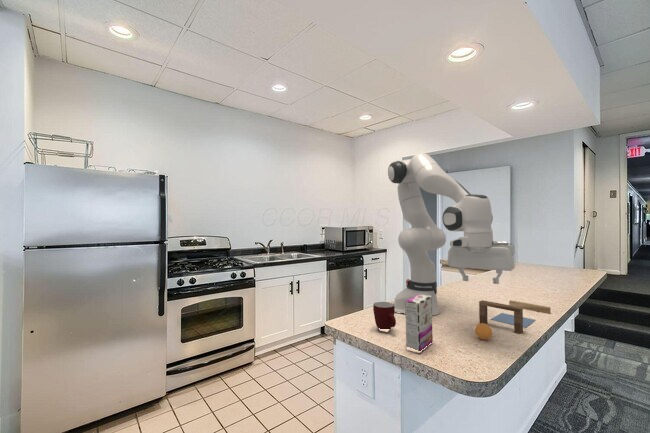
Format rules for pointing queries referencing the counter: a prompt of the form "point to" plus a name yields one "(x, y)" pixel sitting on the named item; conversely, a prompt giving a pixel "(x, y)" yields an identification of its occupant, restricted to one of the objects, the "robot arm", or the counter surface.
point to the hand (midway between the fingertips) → (480, 282)
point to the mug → (384, 315)
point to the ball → (483, 331)
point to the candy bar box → (418, 322)
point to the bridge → (517, 310)
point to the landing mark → (511, 319)
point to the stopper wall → (531, 307)
